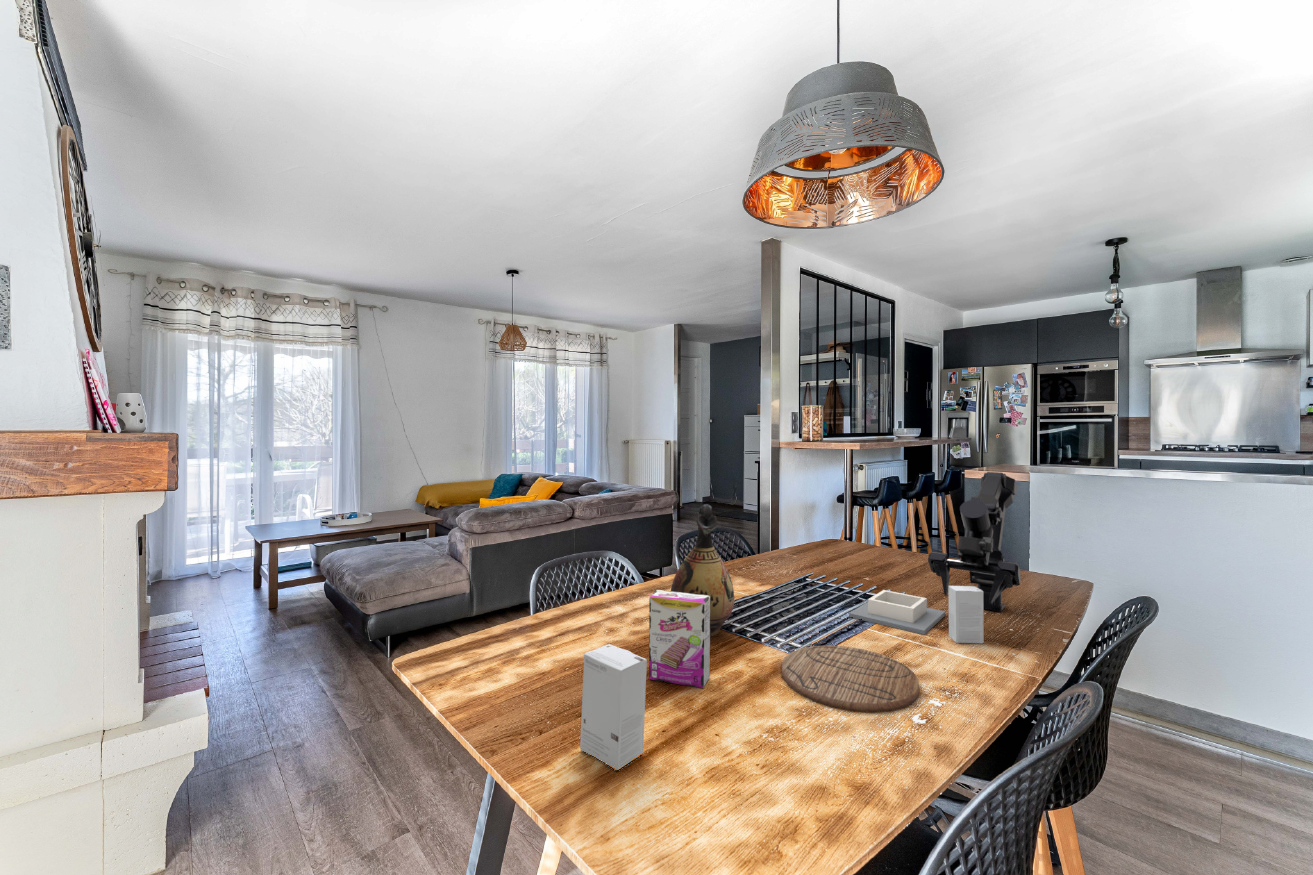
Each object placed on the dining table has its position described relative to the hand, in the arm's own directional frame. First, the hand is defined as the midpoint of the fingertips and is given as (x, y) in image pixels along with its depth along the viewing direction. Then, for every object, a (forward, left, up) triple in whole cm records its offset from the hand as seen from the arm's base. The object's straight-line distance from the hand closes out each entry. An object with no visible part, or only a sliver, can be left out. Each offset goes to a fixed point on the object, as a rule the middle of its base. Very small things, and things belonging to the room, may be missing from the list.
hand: (967, 598), depth 126 cm
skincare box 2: (+2, 0, -9) cm, 10 cm away
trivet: (+39, -12, -10) cm, 42 cm away
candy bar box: (+61, -36, -9) cm, 71 cm away
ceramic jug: (+37, -49, -9) cm, 62 cm away
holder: (-4, -17, -9) cm, 20 cm away
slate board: (-4, -17, -9) cm, 20 cm away
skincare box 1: (+86, -28, -9) cm, 91 cm away
